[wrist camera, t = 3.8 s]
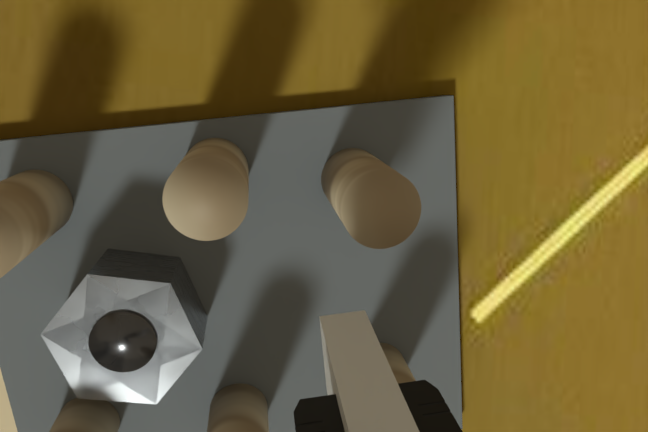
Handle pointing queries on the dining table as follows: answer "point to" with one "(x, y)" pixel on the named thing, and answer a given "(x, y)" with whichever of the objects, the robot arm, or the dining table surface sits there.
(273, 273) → the mat
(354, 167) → the pegs
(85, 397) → the nut
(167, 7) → the dining table surface
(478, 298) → the dining table surface
